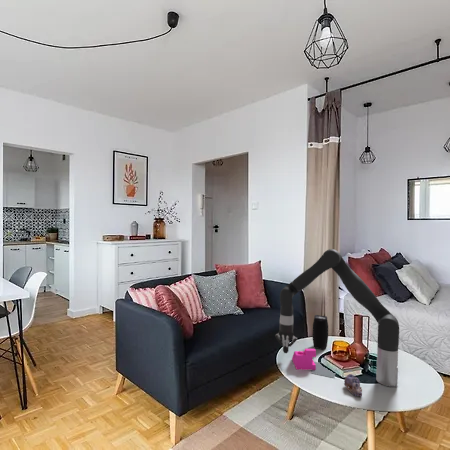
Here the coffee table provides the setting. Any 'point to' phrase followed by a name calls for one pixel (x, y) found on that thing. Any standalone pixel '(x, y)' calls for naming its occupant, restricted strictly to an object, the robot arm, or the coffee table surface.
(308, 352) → the bracket
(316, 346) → the portable speaker
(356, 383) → the purple rock
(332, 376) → the grey mat
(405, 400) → the coffee table surface
